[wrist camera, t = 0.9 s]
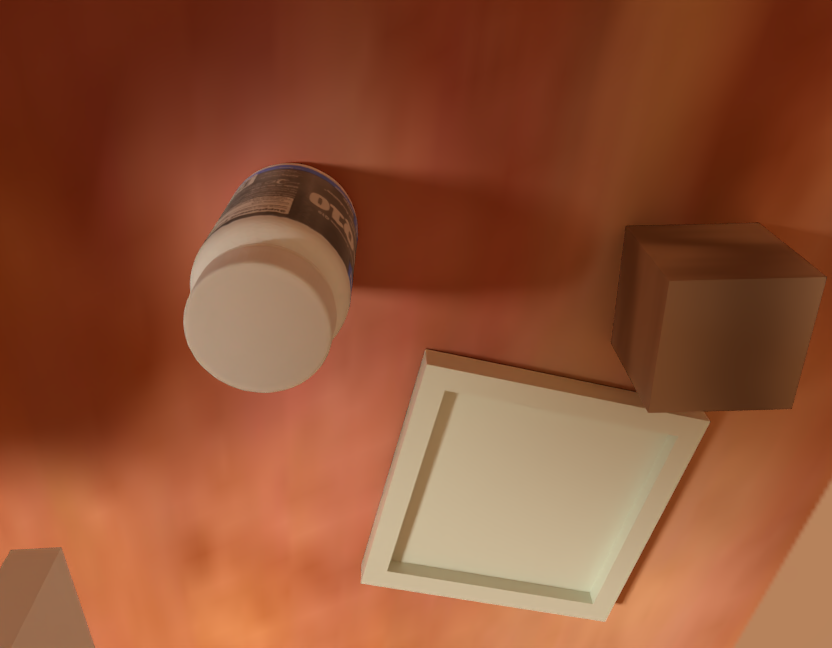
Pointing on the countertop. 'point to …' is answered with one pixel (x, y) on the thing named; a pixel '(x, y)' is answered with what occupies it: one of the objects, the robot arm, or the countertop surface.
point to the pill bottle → (273, 280)
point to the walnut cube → (713, 316)
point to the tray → (524, 488)
